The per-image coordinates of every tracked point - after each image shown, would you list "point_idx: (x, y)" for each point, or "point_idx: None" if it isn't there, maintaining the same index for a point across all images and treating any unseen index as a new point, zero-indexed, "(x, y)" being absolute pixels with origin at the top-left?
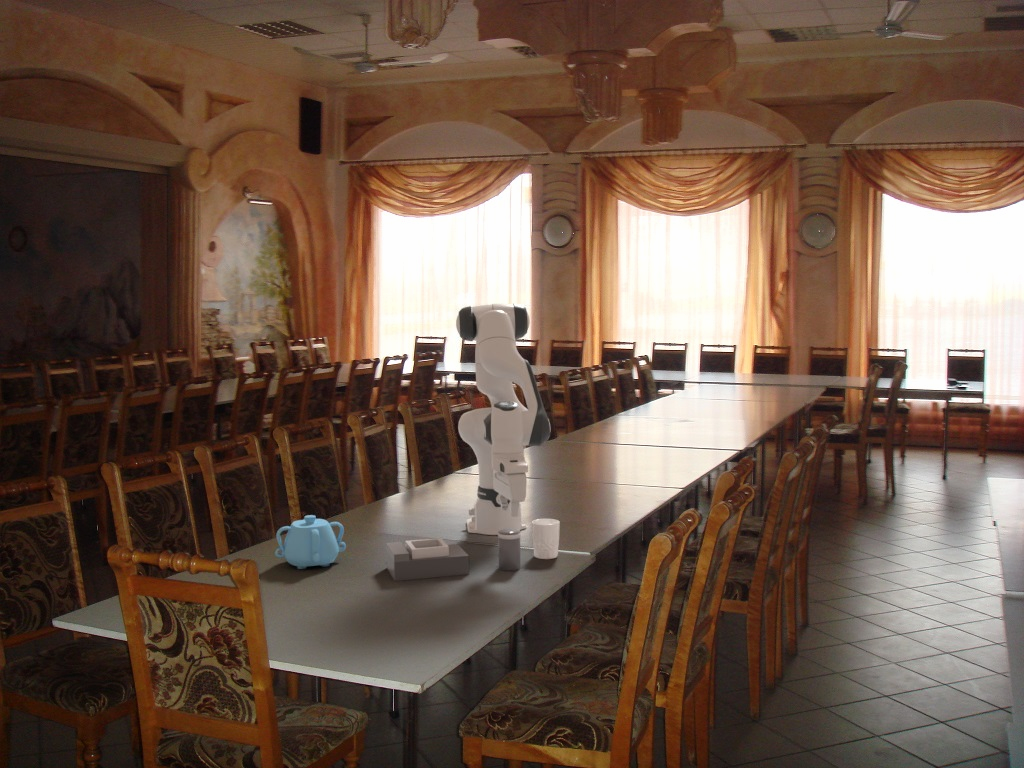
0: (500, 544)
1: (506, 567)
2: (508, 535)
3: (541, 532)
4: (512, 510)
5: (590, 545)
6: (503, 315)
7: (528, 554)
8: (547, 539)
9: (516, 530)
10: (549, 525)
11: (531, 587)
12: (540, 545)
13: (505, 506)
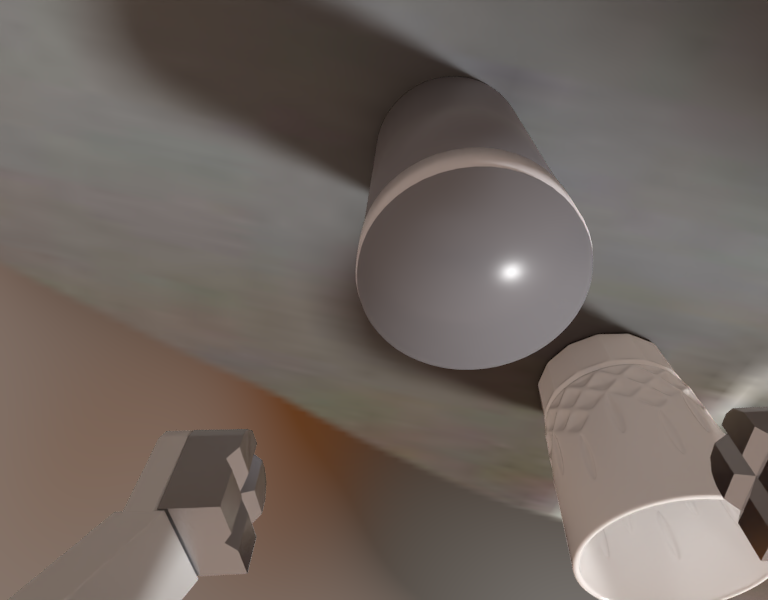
0: (425, 140)
1: (384, 124)
2: (360, 247)
3: (587, 475)
4: (129, 519)
5: None
6: None
7: (686, 315)
8: (557, 460)
9: (494, 349)
10: (573, 553)
11: (13, 188)
12: (576, 402)
13: (753, 485)
